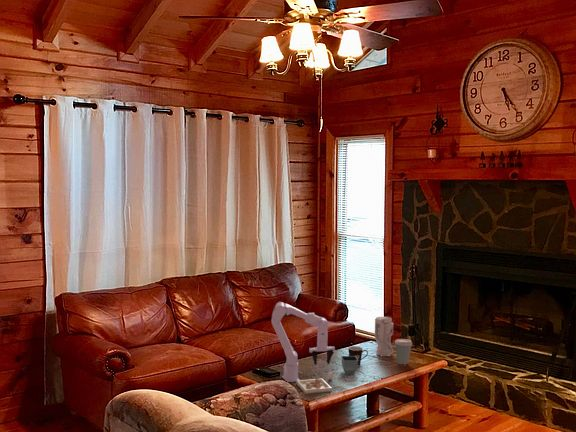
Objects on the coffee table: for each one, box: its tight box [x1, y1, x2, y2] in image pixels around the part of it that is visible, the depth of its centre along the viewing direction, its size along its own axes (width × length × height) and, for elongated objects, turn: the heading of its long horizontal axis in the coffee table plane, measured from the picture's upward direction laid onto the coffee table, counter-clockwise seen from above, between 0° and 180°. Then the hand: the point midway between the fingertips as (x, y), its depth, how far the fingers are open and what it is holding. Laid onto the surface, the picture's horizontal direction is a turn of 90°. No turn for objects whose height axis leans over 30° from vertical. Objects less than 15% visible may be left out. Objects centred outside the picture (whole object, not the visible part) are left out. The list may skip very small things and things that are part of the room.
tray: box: [296, 377, 333, 395], centre depth 334 cm, size 15×15×2 cm
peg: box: [327, 372, 333, 381], centre depth 346 cm, size 2×2×4 cm
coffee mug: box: [347, 345, 369, 366], centre depth 374 cm, size 12×9×10 cm
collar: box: [306, 378, 323, 389], centre depth 332 cm, size 10×7×4 cm
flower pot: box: [340, 355, 359, 375], centre depth 358 cm, size 9×9×9 cm
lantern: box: [374, 316, 395, 357], centre depth 393 cm, size 13×10×25 cm
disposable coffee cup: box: [394, 338, 413, 365], centre depth 377 cm, size 11×11×15 cm
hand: (321, 363), depth 345 cm, fingers open, 7 cm apart
